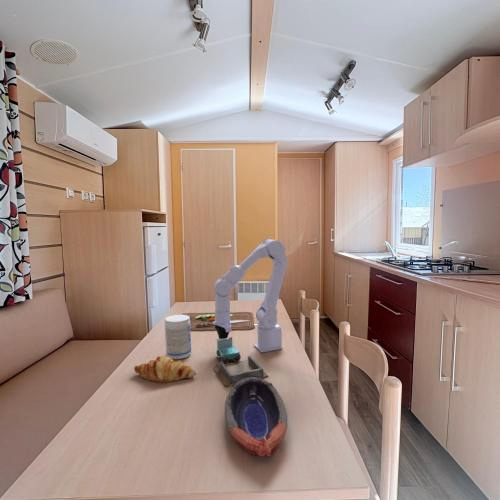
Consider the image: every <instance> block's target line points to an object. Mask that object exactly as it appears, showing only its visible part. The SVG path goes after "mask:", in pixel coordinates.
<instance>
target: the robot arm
mask: <svg viewBox="0 0 500 500" xmlns="http://www.w3.org/2000/svg"><path fill="white" fill-rule="evenodd" d="M286 253H287V252H286V247H285V246H284V244H283V243H282V242H281V241H280V240H278V239H271V238H268V239H265V240H264V241H262V243H260V244H259V245H258V246H256V248H255V249H254V250H253V251H252V252H251V253H250V254H249V255H248V256H247V257H246V258H245V259H244V260H243V261H242V262H241V263H240V264H239V265H237V264H236V265H233V266H230V267H229V268H228V269H229V270H228V271H227V272H226V273H225V274H224V275H221V276H220V278H218V279H217V280H216V281H215V282H214V285H213V290H214V291H215V294H214V296H215V298H214V306H215V307H214V309H215V310H214V313H215V322H213V325H218V326H215V329H216V330H217V331H216V333H217V335H218V339H221V338H227V337H229V334H230V333H231V332H232V331H233V330H231V321H230V312H231V299H230V298H231V297H230V294H231V292H232V288H234V287H235V286H236V285H237V284H238V283H239V282H240V281H241V280H242V279H243V278H245V276H246V271H247V270H248V269H250V268H251V267H253V265H255V263H257V262H258V261H260V259H264V258H269V259H270V260H271V262H272V263H273V266H272V268H271V274H270V278H269V281H268V284H267V288H266V290H265V291H266V292H265V295H264V299H263V301H262V302H261V304H260V306H259V308H258V309H257V310H256V313H255V316H256V317H255V318H256V321H257V320H258V321H259V322H257V324H258V325H256V326H257V343H254V344H253V346H254V347H255V348H256V349H257V350H258V351H260V352H261V353H266V352H271V351H272V352H273V351H276V350H282V349H283V348H284V347H283V346H282V345H283V344H282V343H283V342H282V341H283V340H282V339H283V338H282V337H283V332H282V328H281V326H280V325H279V324H277V323H278V315H277V314H278V307H277V303H278V300H279V296H280V293H281V289H282V285H283V281H284V278H285V275H286V270H287V267H288V258H287V254H286Z"/></svg>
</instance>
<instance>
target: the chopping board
mask: <svg viewBox="0 0 500 500" xmlns="http://www.w3.org/2000/svg"><path fill="white" fill-rule="evenodd" d="M180 315H187V316H189V317H190V330H191V332H207V331H208V332H211V331H214V332H215V331H216V332H217V330H216V329H215V326H218V325H213V322H215V312H184V313H181V314H180ZM255 318H256V315H254V313H253V312H251V311H236V312H235V311H230V321H231V330H232V331H251V330H254V329H255V327H256V326H257V325H258V322H259V321H258V320H257V319H256V321H257V324H255Z"/></svg>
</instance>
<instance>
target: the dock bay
mask: <svg viewBox="0 0 500 500" xmlns="http://www.w3.org/2000/svg"><path fill="white" fill-rule="evenodd" d="M212 369H213V371H214V372H215V374H216V375H217V377H218V378H219V380H220V381H221V383H222V384H223V386H224V387H229V386H234V385H235V384H236V383H237V382H239V381H240V380H242V379H245V378H249V377H256V378H260V379H265V378H269V375H268V374H267V373H266V372H265V371H264V368H263V367H262V365H260V364H259V363H258V362H257V360H255V359H254V358H253V357H252V356H251V355H247V359H244V360H239V361H234V362H230V363H229V362H228V363H223V362H222V361H219V365H216V366H212Z"/></svg>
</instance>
